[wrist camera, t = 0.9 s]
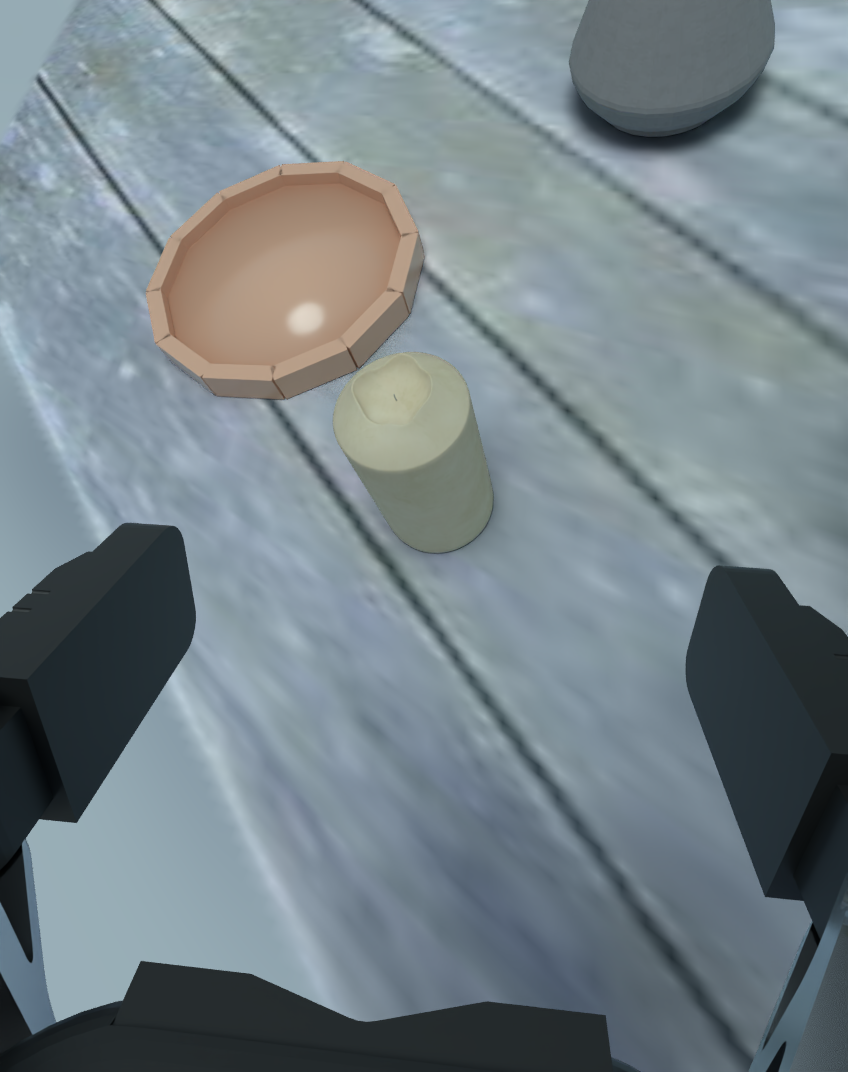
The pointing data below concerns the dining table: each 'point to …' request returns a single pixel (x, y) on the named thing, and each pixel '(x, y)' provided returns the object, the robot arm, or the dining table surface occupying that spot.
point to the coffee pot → (668, 60)
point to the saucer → (286, 280)
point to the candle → (417, 449)
